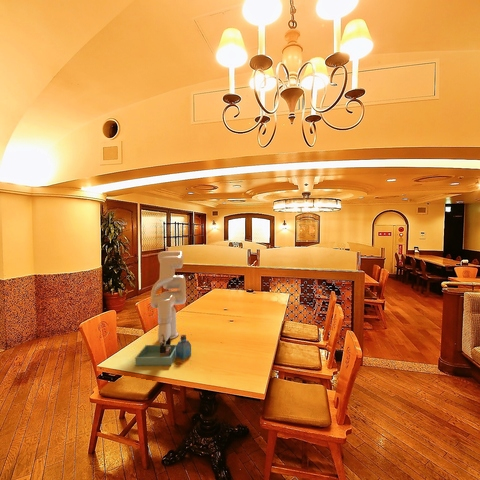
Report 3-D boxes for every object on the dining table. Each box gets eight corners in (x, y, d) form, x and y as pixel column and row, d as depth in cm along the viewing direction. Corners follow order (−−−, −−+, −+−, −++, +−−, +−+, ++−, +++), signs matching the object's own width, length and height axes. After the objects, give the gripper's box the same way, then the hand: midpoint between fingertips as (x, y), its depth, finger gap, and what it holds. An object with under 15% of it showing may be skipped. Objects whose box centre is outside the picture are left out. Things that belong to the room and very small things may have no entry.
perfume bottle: (176, 356, 149) (175, 336, 148) (183, 352, 154) (183, 332, 154) (183, 359, 145) (183, 338, 145) (191, 355, 151) (190, 335, 150)
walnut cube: (162, 355, 149) (162, 346, 149) (171, 355, 149) (170, 346, 149) (159, 359, 144) (159, 350, 144) (168, 359, 144) (168, 350, 144)
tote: (145, 352, 154) (145, 345, 154) (177, 351, 154) (177, 344, 154) (135, 365, 139) (135, 357, 139) (171, 365, 139) (170, 357, 139)
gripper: (162, 314, 155) (163, 341, 156) (153, 325, 137) (154, 356, 138) (175, 314, 155) (175, 341, 156) (167, 325, 137) (167, 356, 138)
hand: (165, 348), depth 147 cm, fingers open, 9 cm apart
